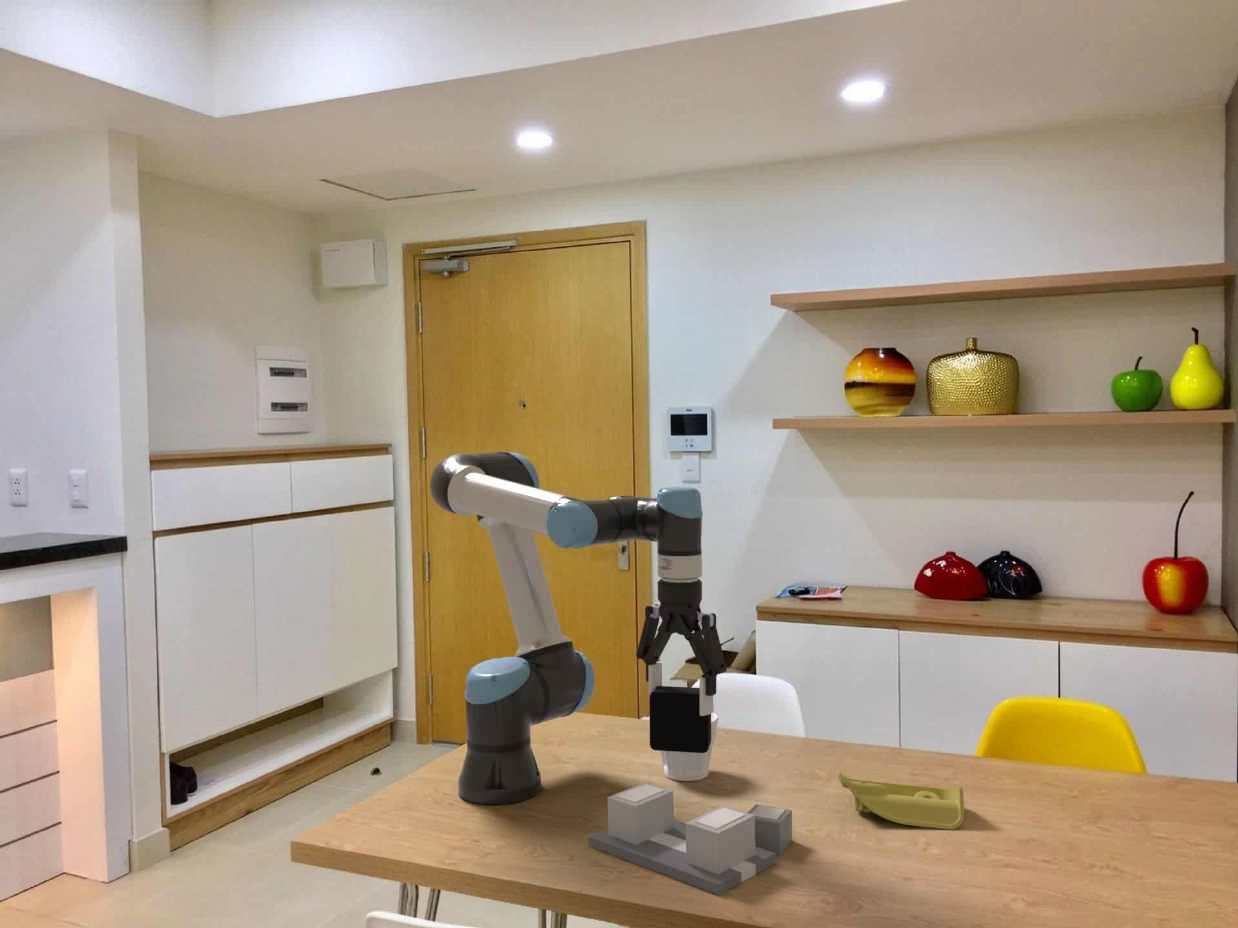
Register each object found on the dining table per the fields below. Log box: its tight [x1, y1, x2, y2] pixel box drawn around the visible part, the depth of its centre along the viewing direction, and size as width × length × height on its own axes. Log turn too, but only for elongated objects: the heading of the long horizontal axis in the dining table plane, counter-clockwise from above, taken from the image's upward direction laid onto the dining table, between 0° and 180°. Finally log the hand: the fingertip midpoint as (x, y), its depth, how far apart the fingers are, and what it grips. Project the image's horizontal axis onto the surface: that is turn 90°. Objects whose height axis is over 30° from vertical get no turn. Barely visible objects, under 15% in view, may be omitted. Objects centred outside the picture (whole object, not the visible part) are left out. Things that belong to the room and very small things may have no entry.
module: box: [746, 804, 793, 856], centre depth 159 cm, size 6×6×5 cm
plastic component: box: [838, 772, 965, 830], centre depth 170 cm, size 20×7×10 cm
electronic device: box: [648, 685, 711, 753], centre depth 172 cm, size 4×10×10 cm, turn 78°
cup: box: [660, 712, 719, 782], centre depth 192 cm, size 12×12×11 cm
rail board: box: [587, 782, 777, 896], centre depth 156 cm, size 26×14×8 cm, turn 47°
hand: (680, 707), depth 172 cm, fingers closed on electronic device, 11 cm apart
